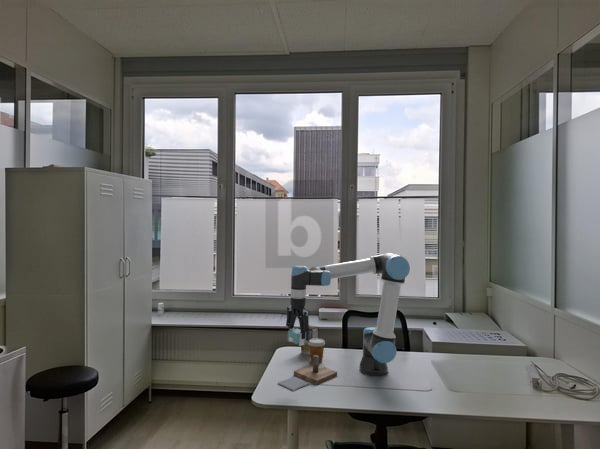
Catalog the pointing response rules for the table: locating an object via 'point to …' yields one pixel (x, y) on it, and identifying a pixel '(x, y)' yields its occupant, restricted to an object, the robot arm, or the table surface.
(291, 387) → the mat
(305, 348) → the coffee box
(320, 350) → the disposable coffee cup
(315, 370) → the brown square board
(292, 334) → the teal matte cube
